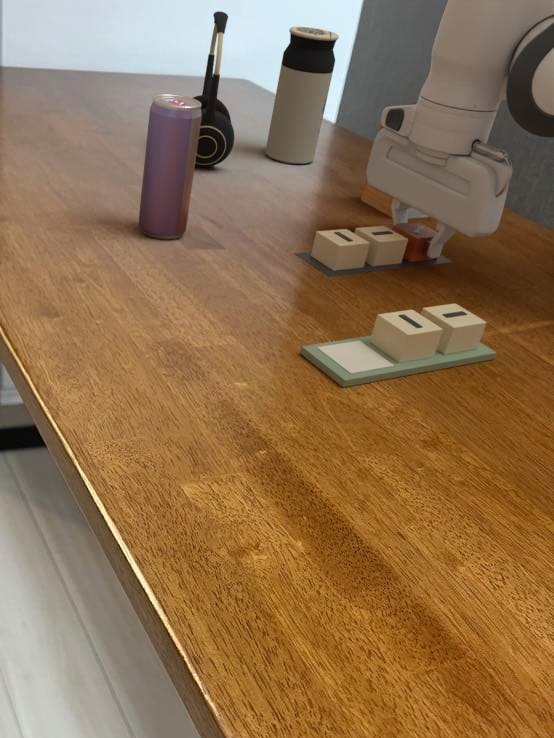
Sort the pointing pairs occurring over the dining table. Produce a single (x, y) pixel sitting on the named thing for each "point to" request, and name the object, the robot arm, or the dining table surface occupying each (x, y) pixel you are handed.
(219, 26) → the headphones
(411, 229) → the block
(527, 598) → the dining table surface
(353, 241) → the board
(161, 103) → the beverage can
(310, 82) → the travel mug
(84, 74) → the dining table surface
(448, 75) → the robot arm
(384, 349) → the word board
